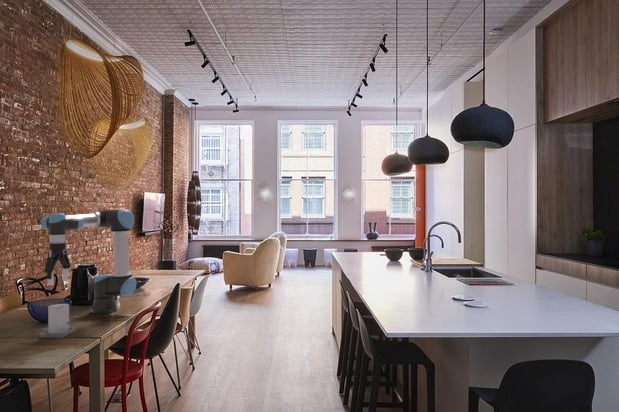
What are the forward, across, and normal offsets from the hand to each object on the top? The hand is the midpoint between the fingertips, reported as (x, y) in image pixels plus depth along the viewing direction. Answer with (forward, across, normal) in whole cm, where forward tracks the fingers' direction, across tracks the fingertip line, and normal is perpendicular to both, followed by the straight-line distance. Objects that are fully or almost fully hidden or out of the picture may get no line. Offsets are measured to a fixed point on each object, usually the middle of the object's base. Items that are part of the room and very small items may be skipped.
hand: (58, 283), depth 250 cm
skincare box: (+26, +1, +1) cm, 26 cm away
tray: (+27, +2, +1) cm, 27 cm away
